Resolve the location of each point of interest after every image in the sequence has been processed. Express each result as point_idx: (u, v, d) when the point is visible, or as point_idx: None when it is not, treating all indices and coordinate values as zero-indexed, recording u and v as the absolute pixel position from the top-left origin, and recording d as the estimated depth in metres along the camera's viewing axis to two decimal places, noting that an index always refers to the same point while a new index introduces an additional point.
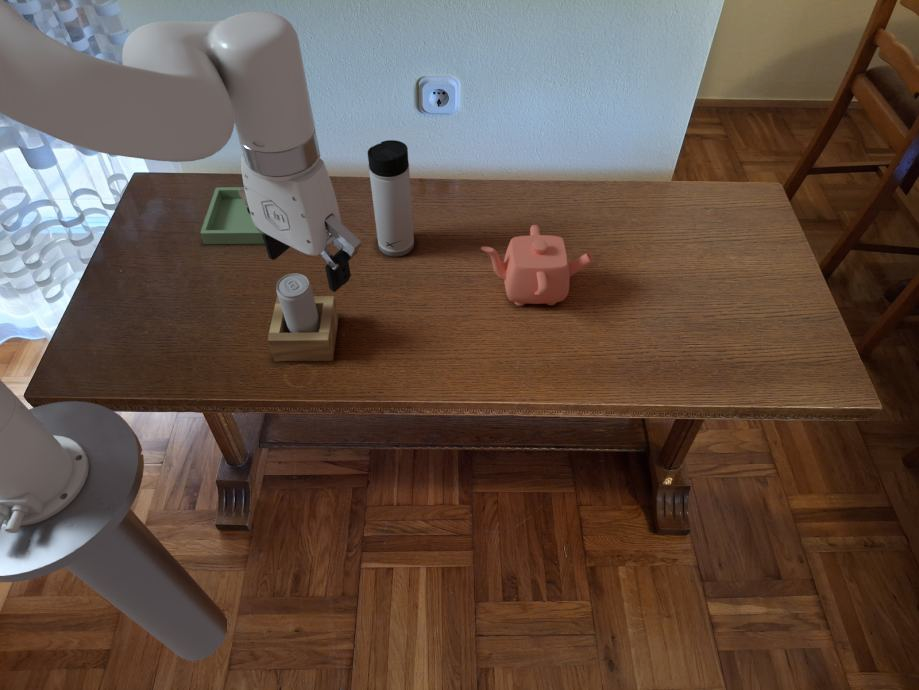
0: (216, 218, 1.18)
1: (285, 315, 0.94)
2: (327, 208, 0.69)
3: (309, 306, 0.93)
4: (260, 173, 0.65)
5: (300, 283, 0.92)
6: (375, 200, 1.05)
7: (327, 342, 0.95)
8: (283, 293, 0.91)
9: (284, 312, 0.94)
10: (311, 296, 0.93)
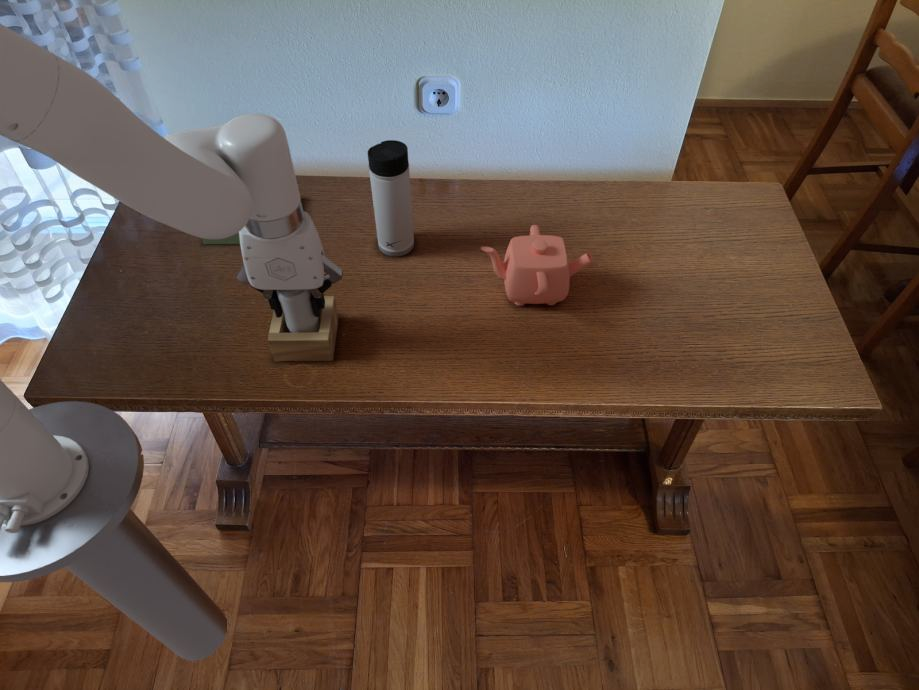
0: None
1: (285, 315, 0.94)
2: (320, 246, 0.87)
3: (309, 306, 0.93)
4: (274, 237, 0.80)
5: None
6: (375, 200, 1.05)
7: (327, 342, 0.95)
8: (283, 293, 0.91)
9: (284, 312, 0.94)
10: None
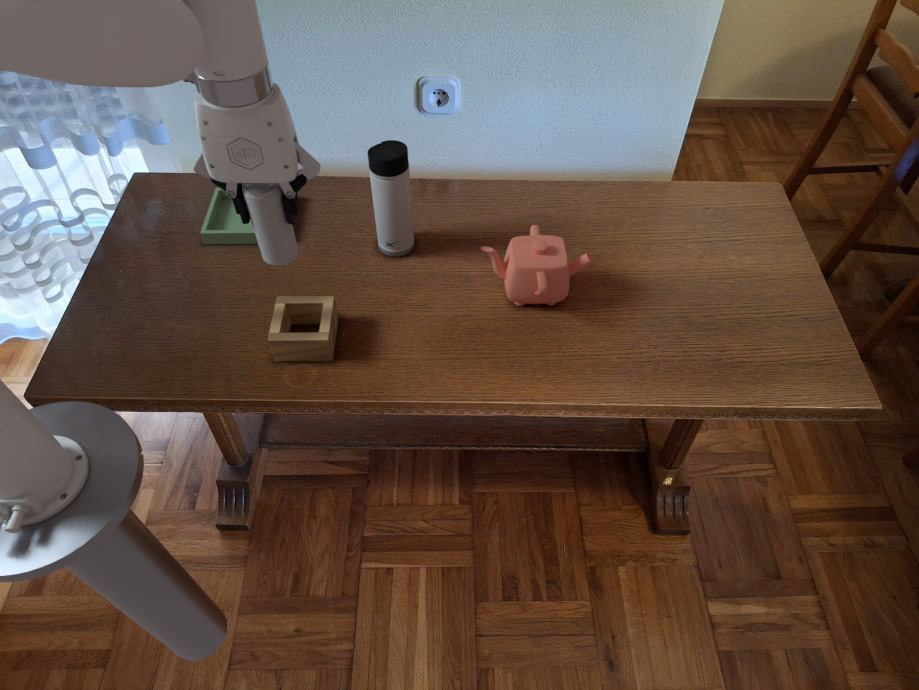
0: (216, 218, 1.18)
1: (253, 221, 0.81)
2: (292, 129, 0.73)
3: (280, 209, 0.80)
4: (234, 106, 0.67)
5: None
6: (375, 200, 1.05)
7: (327, 342, 0.95)
8: (250, 190, 0.77)
9: (251, 217, 0.80)
10: None
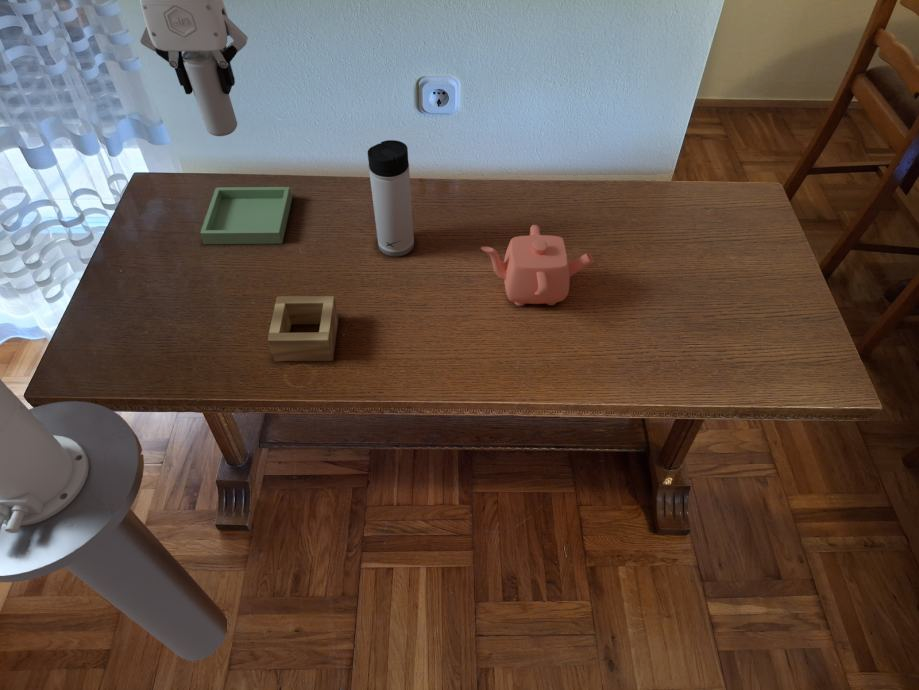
0: (216, 218, 1.18)
1: (194, 90, 0.95)
2: (220, 1, 0.87)
3: (216, 79, 0.94)
4: None
5: (207, 53, 0.93)
6: (375, 200, 1.05)
7: (327, 342, 0.95)
8: (188, 60, 0.92)
9: (192, 86, 0.94)
10: None
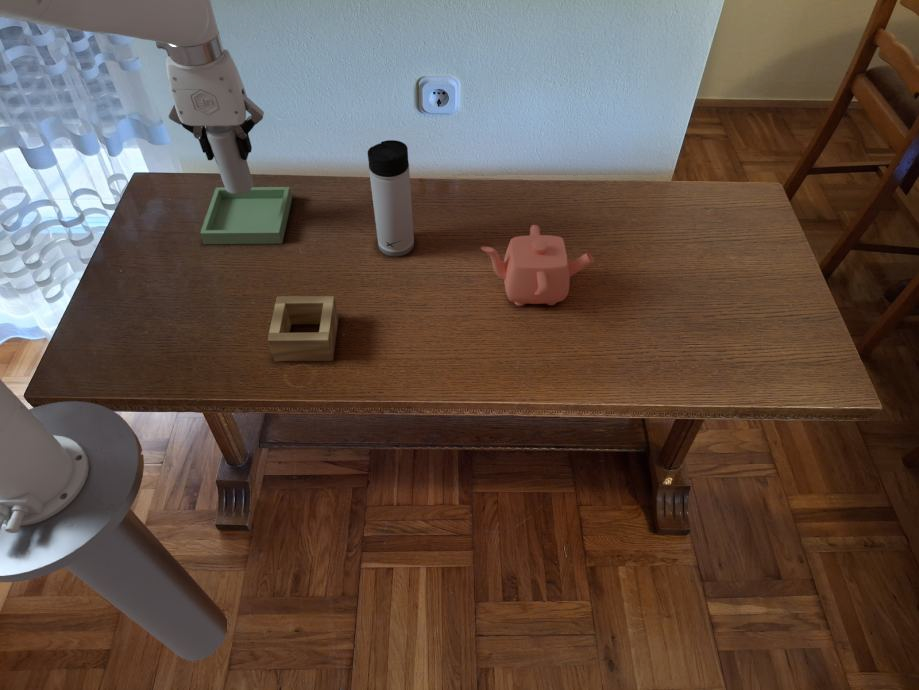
0: (216, 218, 1.18)
1: (215, 157, 1.06)
2: (240, 84, 0.98)
3: (236, 147, 1.05)
4: (194, 65, 0.92)
5: None
6: (375, 200, 1.05)
7: (327, 342, 0.95)
8: (211, 132, 1.03)
9: (214, 154, 1.06)
10: None
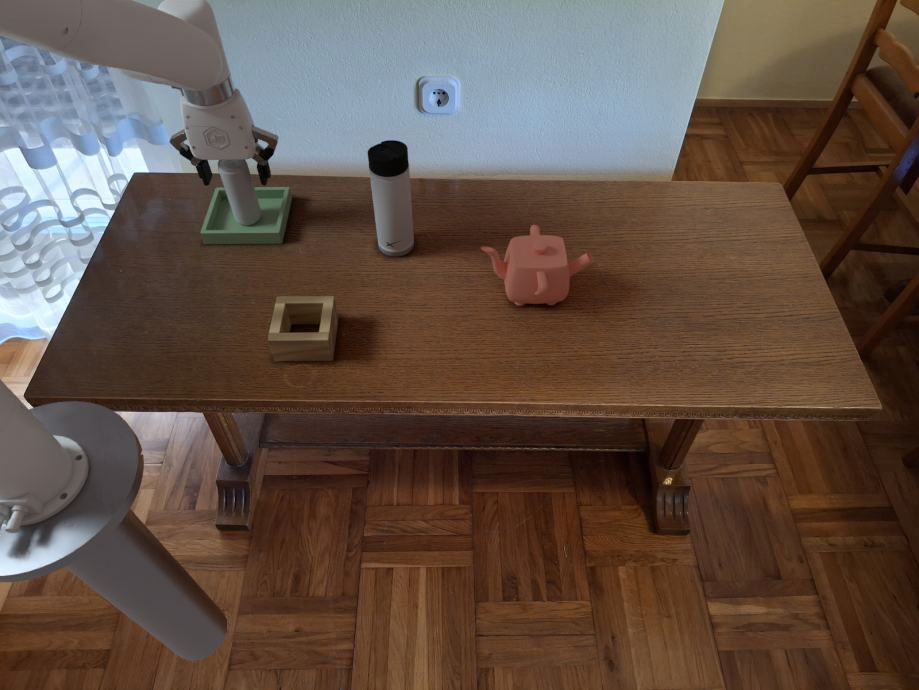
0: (216, 218, 1.18)
1: (226, 191, 1.11)
2: (250, 120, 1.03)
3: (246, 182, 1.10)
4: (207, 105, 0.97)
5: (238, 161, 1.09)
6: (375, 200, 1.05)
7: (327, 342, 0.95)
8: (223, 168, 1.08)
9: (225, 188, 1.11)
10: (248, 173, 1.10)
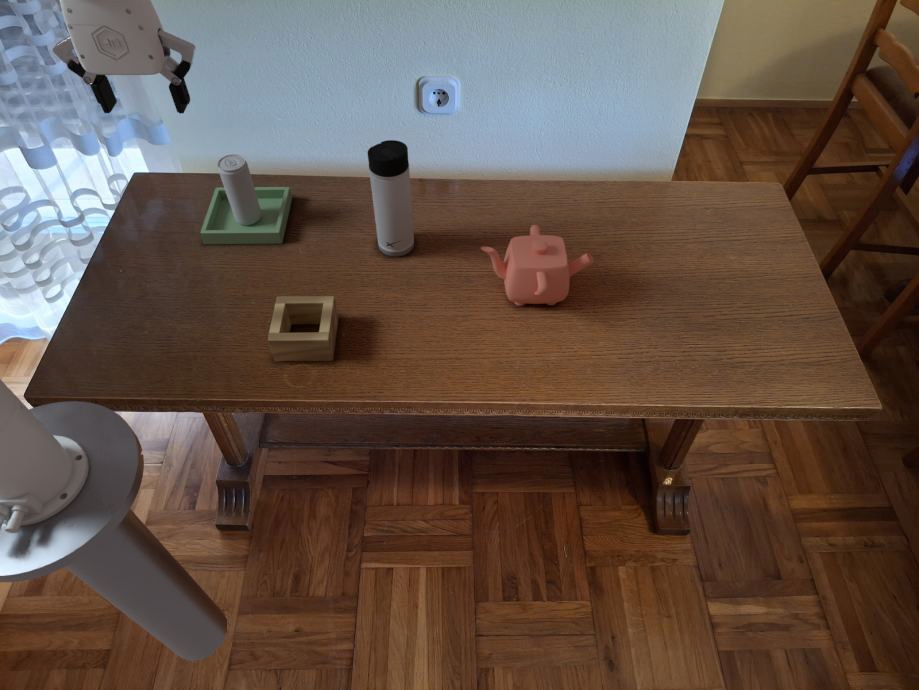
0: (216, 218, 1.18)
1: (226, 191, 1.11)
2: (155, 21, 0.79)
3: (246, 182, 1.10)
4: None
5: (238, 161, 1.09)
6: (375, 200, 1.05)
7: (327, 342, 0.95)
8: (223, 168, 1.08)
9: (225, 188, 1.11)
10: (248, 173, 1.10)
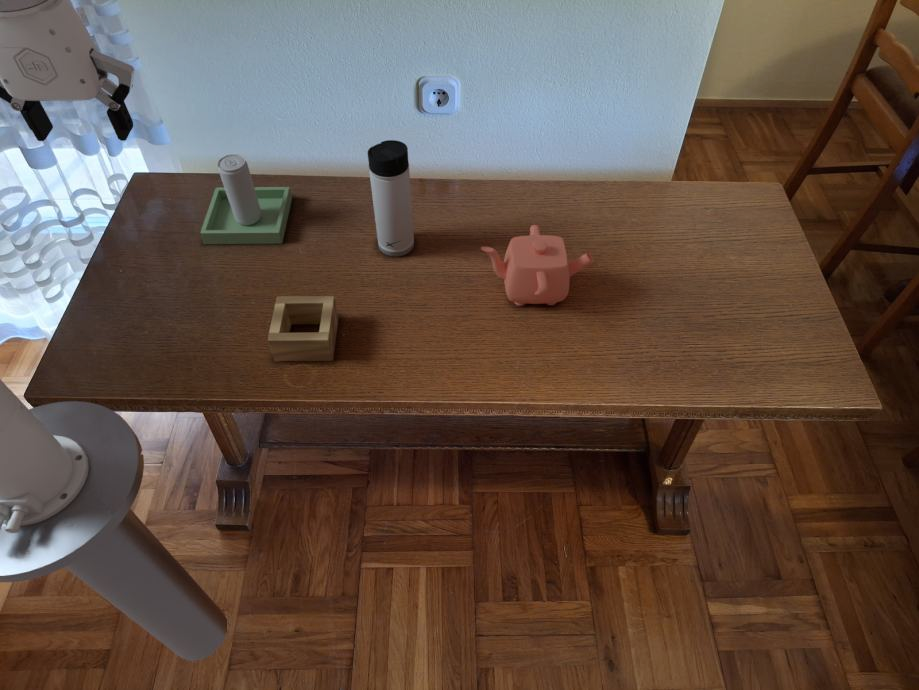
0: (216, 218, 1.18)
1: (226, 191, 1.11)
2: (86, 41, 0.71)
3: (246, 182, 1.10)
4: (6, 10, 0.64)
5: (238, 161, 1.09)
6: (375, 200, 1.05)
7: (327, 342, 0.95)
8: (223, 168, 1.08)
9: (225, 188, 1.11)
10: (248, 173, 1.10)
